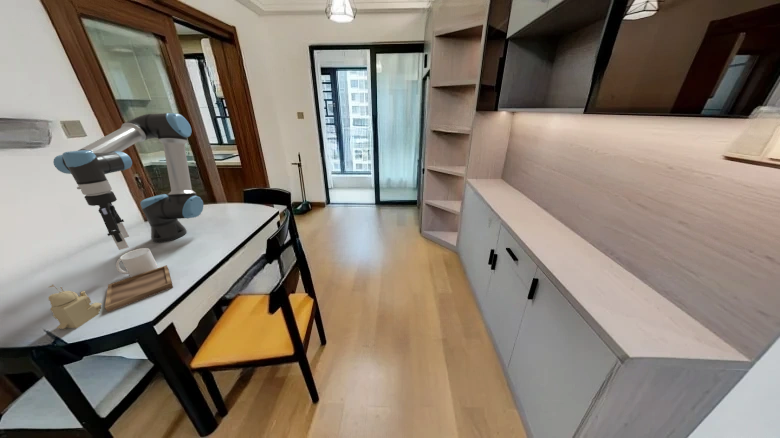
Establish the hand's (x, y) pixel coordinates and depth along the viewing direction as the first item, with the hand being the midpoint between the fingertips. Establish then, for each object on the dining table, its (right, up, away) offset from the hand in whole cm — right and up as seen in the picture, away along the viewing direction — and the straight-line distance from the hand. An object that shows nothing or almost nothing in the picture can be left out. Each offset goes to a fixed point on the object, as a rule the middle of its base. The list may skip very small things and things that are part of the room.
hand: (124, 242), depth 102 cm
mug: (+1, -14, +6) cm, 15 cm away
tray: (+11, -17, -4) cm, 21 cm away
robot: (+4, -24, -18) cm, 30 cm away
